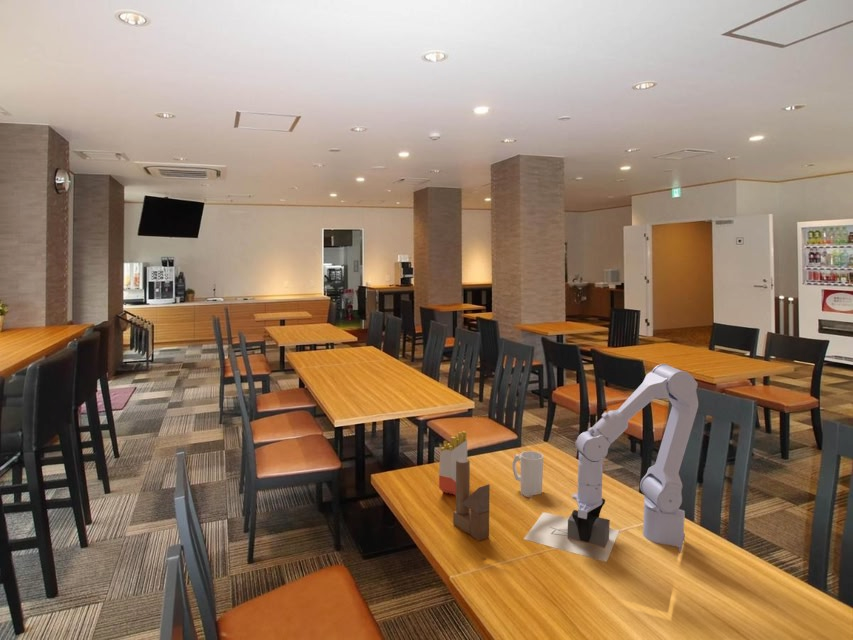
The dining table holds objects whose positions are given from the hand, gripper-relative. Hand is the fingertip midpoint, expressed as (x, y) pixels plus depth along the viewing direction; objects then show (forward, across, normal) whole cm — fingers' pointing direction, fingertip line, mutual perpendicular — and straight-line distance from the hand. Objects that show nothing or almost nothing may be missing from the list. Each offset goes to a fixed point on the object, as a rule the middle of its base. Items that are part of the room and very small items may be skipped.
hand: (588, 533), depth 130 cm
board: (+2, 0, -4) cm, 5 cm away
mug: (+3, -20, -23) cm, 31 cm away
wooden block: (+3, +9, -28) cm, 30 cm away
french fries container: (+3, -10, -43) cm, 44 cm away
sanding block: (+1, 0, 0) cm, 1 cm away
